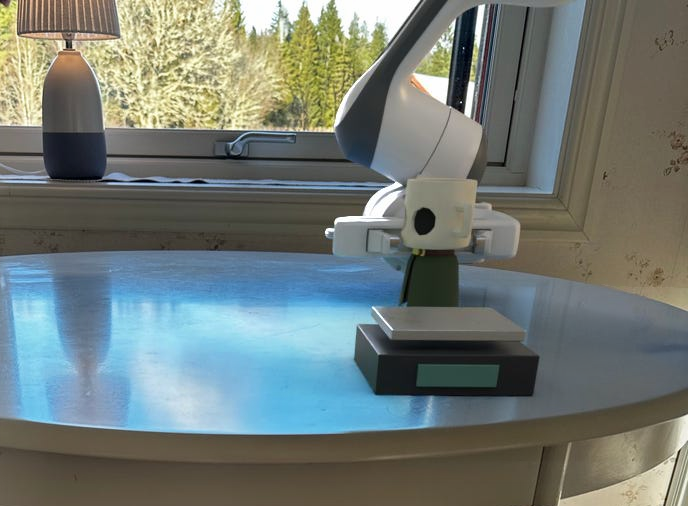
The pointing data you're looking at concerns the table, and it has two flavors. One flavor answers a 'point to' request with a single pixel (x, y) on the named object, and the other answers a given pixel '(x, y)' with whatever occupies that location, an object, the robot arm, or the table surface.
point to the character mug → (435, 238)
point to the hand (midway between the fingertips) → (437, 245)
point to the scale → (444, 365)
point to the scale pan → (446, 324)
